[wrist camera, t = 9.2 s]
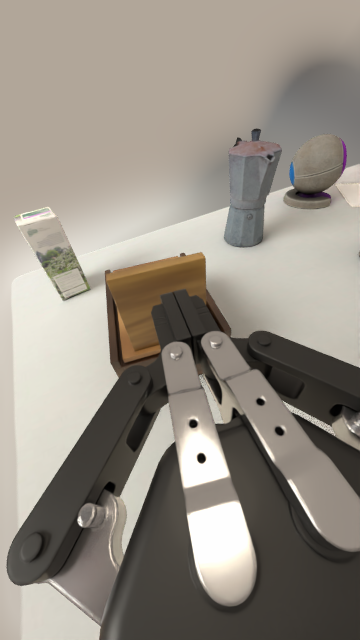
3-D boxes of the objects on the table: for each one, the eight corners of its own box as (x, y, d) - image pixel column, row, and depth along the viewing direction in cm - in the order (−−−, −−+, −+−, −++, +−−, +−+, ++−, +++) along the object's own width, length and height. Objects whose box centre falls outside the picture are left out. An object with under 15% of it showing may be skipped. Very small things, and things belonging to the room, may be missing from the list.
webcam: (337, 208, 60) (365, 135, 49) (286, 209, 62) (301, 141, 52) (325, 192, 69) (346, 128, 58) (280, 194, 71) (292, 133, 61)
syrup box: (83, 276, 48) (48, 204, 38) (91, 289, 44) (56, 213, 34) (56, 287, 46) (11, 214, 36) (62, 302, 42) (15, 225, 32)
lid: (219, 336, 25) (223, 256, 18) (124, 363, 23) (88, 288, 16) (178, 259, 37) (170, 195, 30) (114, 274, 36) (91, 210, 29)
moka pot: (239, 257, 47) (251, 136, 33) (209, 230, 58) (209, 129, 44) (279, 247, 49) (306, 126, 35) (243, 222, 59) (253, 122, 45)
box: (227, 366, 29) (231, 329, 24) (128, 396, 27) (110, 363, 22) (187, 287, 42) (184, 252, 37) (118, 305, 40) (104, 270, 35)
